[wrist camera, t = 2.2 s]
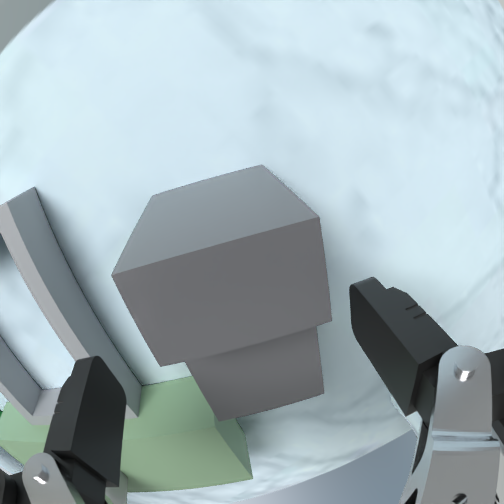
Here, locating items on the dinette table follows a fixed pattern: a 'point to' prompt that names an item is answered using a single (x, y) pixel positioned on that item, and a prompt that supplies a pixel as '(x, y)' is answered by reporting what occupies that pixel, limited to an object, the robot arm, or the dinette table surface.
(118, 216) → the dinette table surface
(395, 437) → the dinette table surface
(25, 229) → the multicoloured piece
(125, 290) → the grey stepped block
